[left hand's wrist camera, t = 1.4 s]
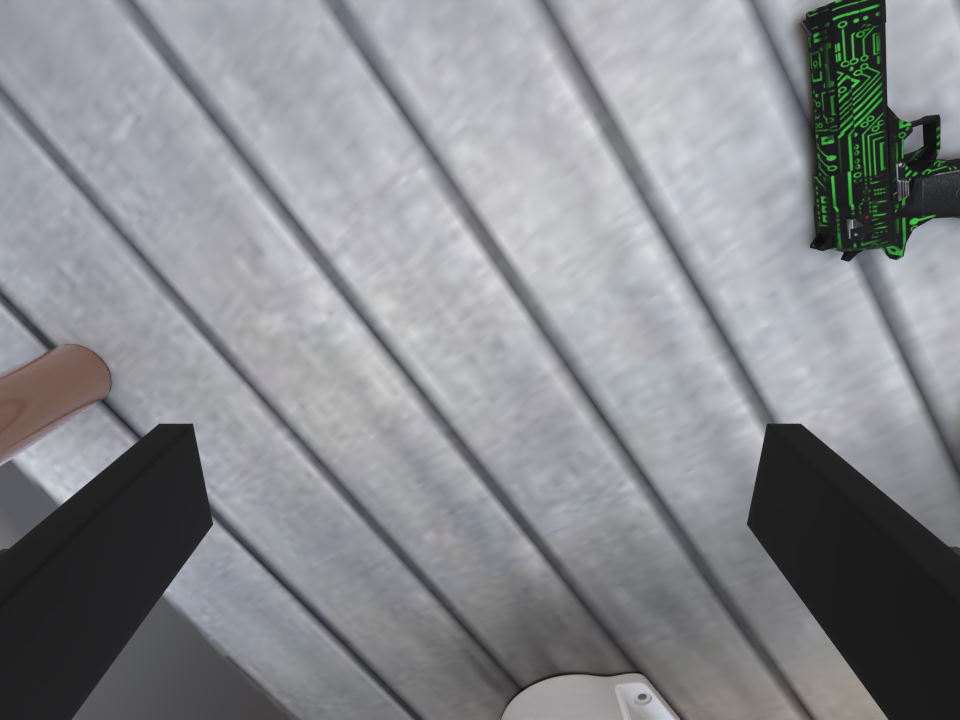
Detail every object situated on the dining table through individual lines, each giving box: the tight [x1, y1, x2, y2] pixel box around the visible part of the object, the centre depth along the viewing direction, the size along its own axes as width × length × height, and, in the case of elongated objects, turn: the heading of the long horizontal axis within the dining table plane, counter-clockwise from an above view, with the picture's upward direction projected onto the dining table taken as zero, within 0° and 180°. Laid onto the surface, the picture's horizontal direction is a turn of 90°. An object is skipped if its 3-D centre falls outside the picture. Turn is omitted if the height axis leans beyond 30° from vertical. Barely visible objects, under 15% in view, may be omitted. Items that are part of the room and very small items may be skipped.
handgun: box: [799, 0, 960, 261], centre depth 35 cm, size 16×3×15 cm
